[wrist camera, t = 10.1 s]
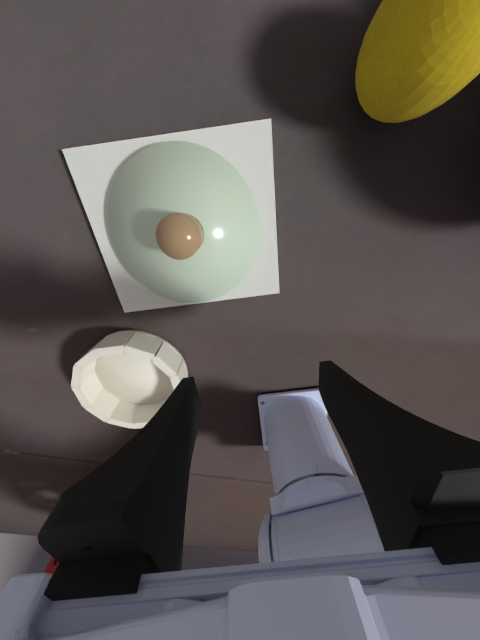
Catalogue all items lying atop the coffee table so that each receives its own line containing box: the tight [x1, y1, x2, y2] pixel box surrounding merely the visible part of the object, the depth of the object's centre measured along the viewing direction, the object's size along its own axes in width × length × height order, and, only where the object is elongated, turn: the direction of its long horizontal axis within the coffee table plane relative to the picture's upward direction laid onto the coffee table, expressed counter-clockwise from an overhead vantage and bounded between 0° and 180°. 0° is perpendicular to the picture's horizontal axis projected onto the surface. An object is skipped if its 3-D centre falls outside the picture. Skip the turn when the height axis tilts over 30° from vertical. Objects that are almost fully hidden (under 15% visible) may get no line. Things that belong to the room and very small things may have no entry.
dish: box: [71, 330, 188, 429], centre depth 22 cm, size 10×10×3 cm
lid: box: [108, 141, 260, 303], centre depth 16 cm, size 11×11×3 cm
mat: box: [62, 119, 279, 313], centre depth 18 cm, size 12×14×1 cm
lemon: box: [355, 0, 480, 123], centre depth 11 cm, size 6×6×8 cm
